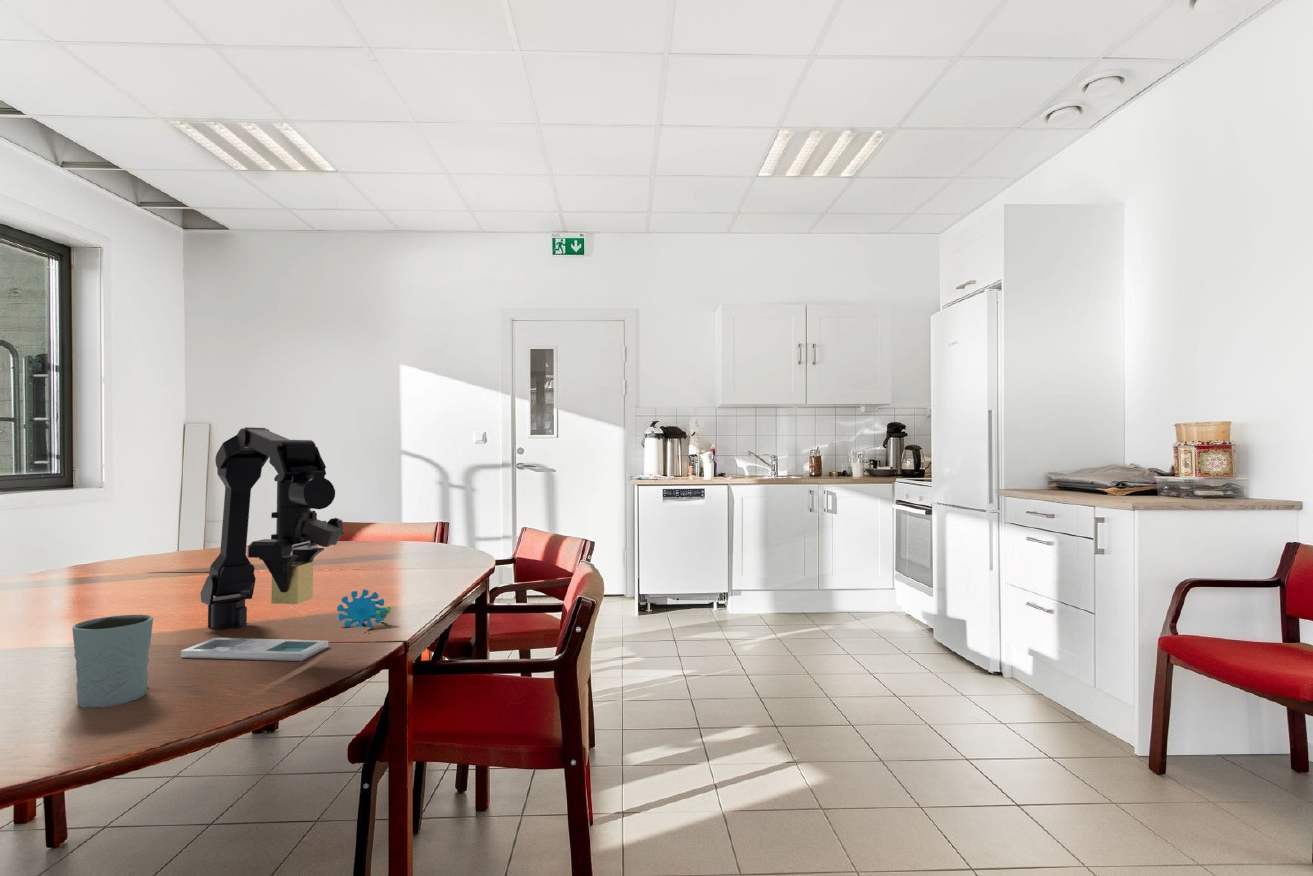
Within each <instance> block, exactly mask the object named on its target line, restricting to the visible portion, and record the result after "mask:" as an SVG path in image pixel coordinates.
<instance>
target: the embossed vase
mask: <svg viewBox="0 0 1313 876" xmlns="http://www.w3.org/2000/svg"><path fill="white" fill-rule="evenodd" d="M153 622H154V617H153V615H147V614H126V615H125V614H122V615H112V616H104V617H99V618H93V619H88V620H84V621H81V622H78V623H76V624H74V625H73V626H72V640H73V646H74V647H73V648H74V659H75V661H76V662H75V669H76V670H75V671H76V679H77V681H76V686H75V687H76V696H77V705H78V706H79V705H81V706H85V707H84V708H87V707H101V708H106V707H105V706H109V707H112V706H111V705H115V706H119V704H120V705H124V704H127V702H128V703H130V702H129V701H131V702H133V701H132V700H134V701H136V699H137V700H139V699H140V697H141V698H142V696H143V697H144V696H145V695H146V693H147V687H148V679H149V678H148V677H149V673H148V665H149V661H150V658H149V653H150V651H149V650H150V648H151V642H152V641H151V640H152V631H153V624H154V623H153ZM138 698H139V699H138ZM123 703H124V704H123ZM81 706H80V707H81ZM102 706H104V707H102Z"/></svg>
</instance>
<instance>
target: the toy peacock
mask: <svg viewBox="0 0 1313 876" xmlns="http://www.w3.org/2000/svg"><path fill="white" fill-rule="evenodd" d="M368 595H369V590H367V589H364V588H363V589H362V591H361V595H360V596H359V597H358V591H357V590H353V591H351V593H350V597H351V598H352V600H351V601H349V596H348V595H346V596H343V597H342V598H341V603H343V604H345V605H346V606H347V607H344V605H343V604H338V606H337V607H336V611H337V612H339V613H338V617H337V618H338V621H339V622H342V621H343V620H345V621H344V623H343V624H344V626H345V628H350V627H351V626H352V625H353V624H355V623H356V624H355V625H354V628H361V627H362V625H363V623H364V622H367V623H366V625H365V627H366V628H373V627H374V626H373V625H374V623H373V622H372V619H375V623H376V624H379V623H381V621H384V622H385V619H386V618H387V615H389V614H391V613H392V607H391V606H387V607H383V606H385V599H384V598H381V599H379V594H378V592H376V591H375V592H373V593H372V594H371V595H370V596H368ZM367 596H368V597H367ZM357 597H358V598H357ZM377 605H378V606H377ZM379 606H381V607H379ZM340 612H342V613H340ZM343 612H344V613H346V614H344V613H343ZM347 619H351V620H347Z"/></svg>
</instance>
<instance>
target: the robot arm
mask: <svg viewBox="0 0 1313 876" xmlns="http://www.w3.org/2000/svg"><path fill="white" fill-rule="evenodd" d="M268 460H269V461H268ZM267 461H268V462H269V464H270V465H271V466H272V467H273V468H274V470H275V471H276V473H277V474H276V475H275V477H274V478H273V480H274V482H276V511H273V512H271V515H270V516H271V517H270V518H271V519H276V524H275V525H276V526H275V527H276V528H275V530H276V532H275V533H273V534H270V539H269V538H264V539H259V540H254V541H252V542H251V543H250V544H249V545H248V546H247V543H248V531H249V518H250V507H251V505H250V503H251V493H252V492H251V491H252V489H253V487H254V486H255V485H256V483H257V482H258V481H259V479H261V477H262V471H263V467H264V466H265V464H266V463H267ZM215 467H216V469H217V476H218V478H220V480H221V481H222V483H223V485H224V500H223V511H222V526H221V539H220V550H219V552H220V553H219V554H218V556H217V557H216V558H215V560H214V561H213V562H212V563H211V564H210V567H209V574H208V576H207V577H206V579H205V581H204V584H203V586H202V588H201V590H200V602H201V603H202V604H205V605H206V606H207V628H208V629H212V630H229V629H240V628H243V627H245V626H247V625H250V623H248V621H247V618H248V607H247V606H246V600H251V599H252V598H253V595H254V590H255V584H256V575H255V565H254V564H253V563H252V562H251V561H250V560H249V558H250V559H252V558H254V559H255V558H256V559H257V558H259V559H258V560H261V561H262V562H263V564H264V565H265V567H266V568H267V570H268V571H269V573H270V574H271V577H272V576H273V578H274V580H275V582H276V584H277V586H278V588H279V589H280V591H281V592H287V591H288V586H289V580H290V571H291V564H292V563H293V561H300V562H313V563H314V559H315V558H316V557H317V556H318V555H319V554H320V553H321V552H323V551H324V550H325V548H329V547H330V546H332V545H333V546H336V545H337V543H338V541H339V538H340V537H342V536H344V534H345V533H344V526H343V520H342V519H340V518H337V517H334V518H333V517H332V518H330V519H329V520H328V521H327V520H320V519H318V513H317V512H316V510H323V509H326V508H327V507H329V506H330V505H331V504H332V503H333V502H334V500H335V497H336V489H335V487H334V484H333V483H332V482H331V481H330V480H329V479H327V478H325V476H326V475H327V472H326V468H327V466H326V464H325V462H324V460H323V458H322V456H321V454H320V450H319V447H317V445H316V444H315V442H314V441H313V440H312V439H311V440H310V439H289V438H286V437H284V436H281V434H278V433H275V432H273V431H270V429H268V428H265V427H254V426H253V427H251V426H250V427H249V426H248V427H247V426H246V427H243V428H240V429H239V430H238V431H237V434H236V435H234V436H232V437H231V438H229V439H227V440H225V441H224V442H223V443H222V444H221V446H220V447H219V449H218V451H217V452H216V455H215ZM311 509H312V510H311Z"/></svg>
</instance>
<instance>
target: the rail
mask: <svg viewBox="0 0 1313 876" xmlns="http://www.w3.org/2000/svg"><path fill="white" fill-rule="evenodd" d="M328 648H329V640H318V639H316V640H315V639H284V638H283V639H279V638H278V639H277V638H276V639H275V638H245V637H243V638H241V637H212V638H210V639H208V640H205V641H203V642H200V643H197V644H195V645H192V646H190V647H186V648H184V649H181V650H180V658H183V659H185V658H187V659H213V660H214V659H219V660H220V659H221V660H254V661H255V660H257V661H260V660H261V661H289V662H291V661H293V662H294V661H295V662H302V661H304V660H306V659H309V658H311V657H312V656H314V655H316V654H318V653H319V652H321V651H324V650H326V649H328Z"/></svg>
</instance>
